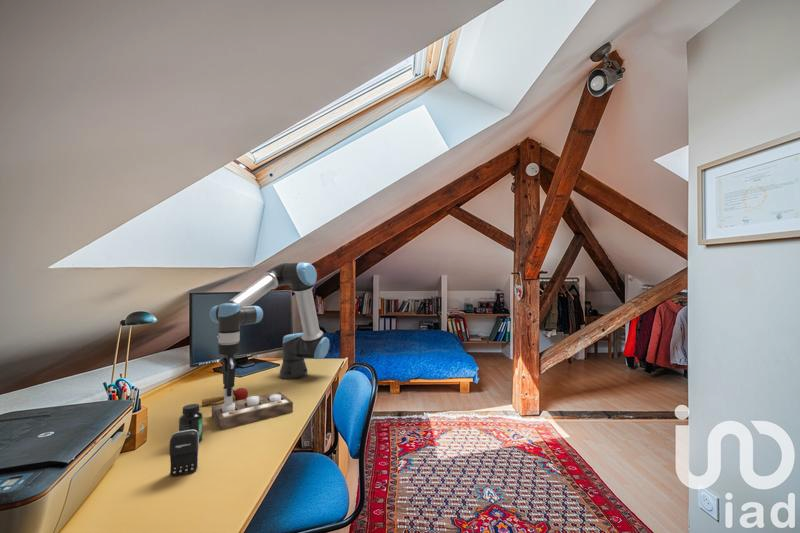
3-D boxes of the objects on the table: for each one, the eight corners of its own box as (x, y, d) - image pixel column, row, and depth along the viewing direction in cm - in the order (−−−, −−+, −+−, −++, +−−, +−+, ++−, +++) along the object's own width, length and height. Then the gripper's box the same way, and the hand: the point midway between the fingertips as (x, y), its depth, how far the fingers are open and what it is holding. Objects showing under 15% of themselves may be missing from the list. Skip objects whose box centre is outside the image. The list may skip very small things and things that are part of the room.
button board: (279, 400, 155) (279, 391, 155) (292, 411, 142) (292, 401, 142) (211, 416, 138) (211, 405, 138) (219, 430, 125) (219, 418, 125)
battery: (167, 479, 95) (168, 437, 95) (170, 472, 98) (170, 432, 99) (197, 473, 98) (197, 432, 98) (198, 466, 101) (199, 427, 102)
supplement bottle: (206, 440, 117) (206, 405, 118) (185, 449, 112) (185, 411, 112) (195, 435, 121) (196, 401, 121) (174, 443, 115) (175, 407, 116)
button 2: (279, 404, 149) (279, 393, 149) (282, 407, 145) (282, 396, 145) (268, 406, 146) (268, 395, 146) (271, 409, 142) (271, 398, 142)
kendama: (201, 413, 145) (247, 401, 151) (199, 397, 146) (246, 386, 152) (205, 409, 152) (249, 398, 159) (203, 395, 153) (247, 384, 160)
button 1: (233, 412, 138) (233, 401, 138) (236, 416, 134) (236, 404, 134) (220, 415, 135) (220, 404, 135) (223, 419, 131) (223, 407, 131)
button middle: (257, 406, 143) (257, 395, 143) (260, 409, 140) (260, 398, 140) (245, 408, 140) (245, 397, 141) (248, 412, 137) (248, 400, 137)
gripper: (215, 341, 138) (214, 401, 137) (221, 346, 128) (221, 411, 127) (235, 339, 143) (234, 397, 142) (243, 344, 132) (242, 406, 132)
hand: (228, 404), depth 134 cm, fingers closed
